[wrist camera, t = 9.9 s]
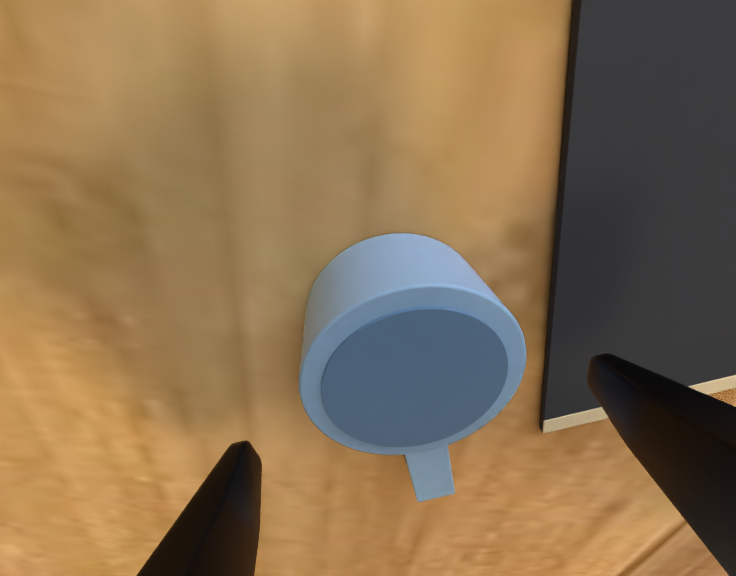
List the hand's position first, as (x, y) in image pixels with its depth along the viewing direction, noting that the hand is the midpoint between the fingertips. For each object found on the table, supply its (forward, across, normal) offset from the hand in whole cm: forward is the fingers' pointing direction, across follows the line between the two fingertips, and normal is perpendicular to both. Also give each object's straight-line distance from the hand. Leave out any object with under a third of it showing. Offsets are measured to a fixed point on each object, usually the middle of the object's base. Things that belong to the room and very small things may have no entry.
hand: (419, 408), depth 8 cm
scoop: (+4, 0, +3) cm, 5 cm away
